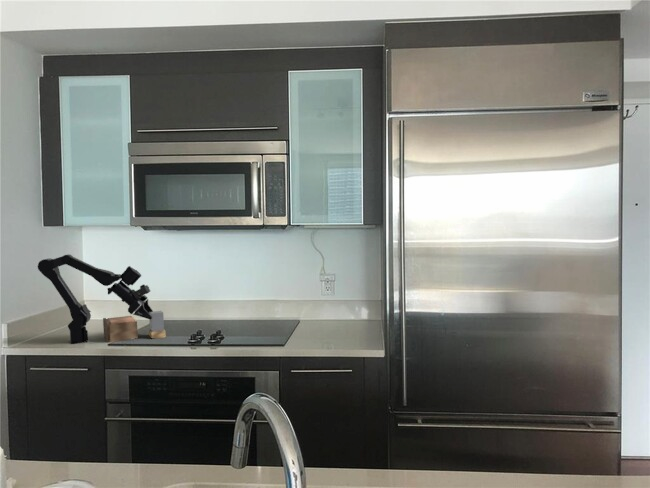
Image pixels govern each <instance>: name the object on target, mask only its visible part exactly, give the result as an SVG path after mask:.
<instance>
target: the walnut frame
mask: <svg viewBox="0 0 650 488" xmlns="http://www.w3.org/2000/svg"><path fill="white" fill-rule="evenodd" d="M107 319H108V318H107V317H103V318H102V321H103V322H102V325H103V337H104V339H105V340H106V342H107V343H114V342H122V340H123V341H128V340H127V339H131V338H139V336H138V335H139V334H138V321H137V320H135V321H133V322H124V323H115V324H110V322H109V321H108V320H107ZM131 340H132V339H131Z"/></svg>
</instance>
